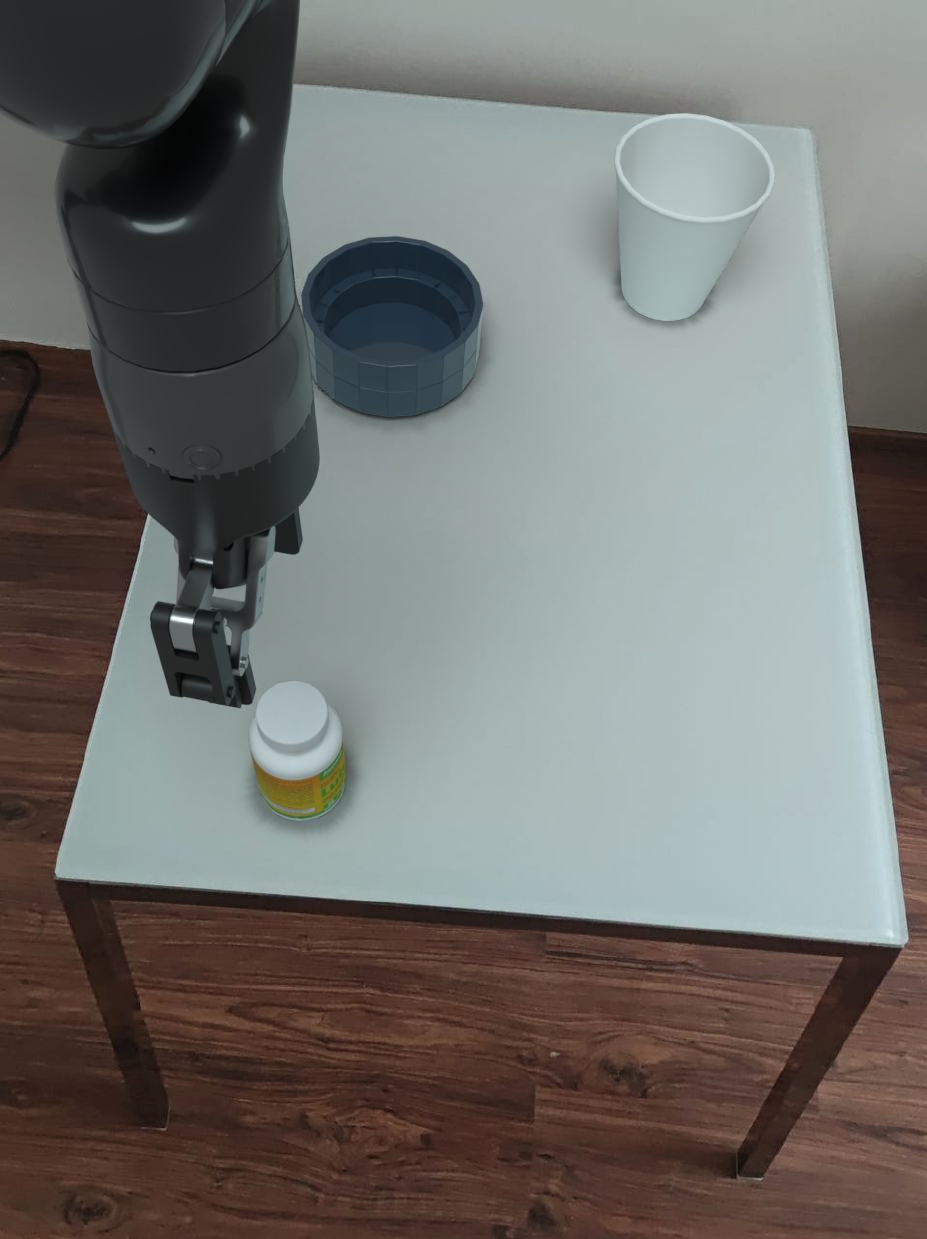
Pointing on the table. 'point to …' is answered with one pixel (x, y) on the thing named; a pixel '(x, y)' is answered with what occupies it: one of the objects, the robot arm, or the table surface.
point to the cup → (684, 208)
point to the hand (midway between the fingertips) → (257, 619)
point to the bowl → (392, 325)
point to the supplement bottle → (297, 751)
